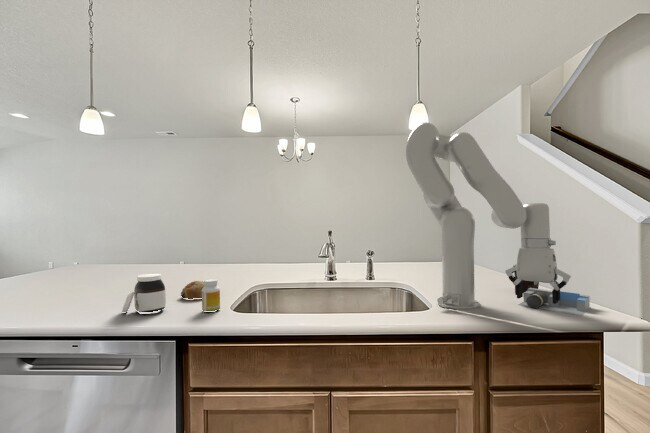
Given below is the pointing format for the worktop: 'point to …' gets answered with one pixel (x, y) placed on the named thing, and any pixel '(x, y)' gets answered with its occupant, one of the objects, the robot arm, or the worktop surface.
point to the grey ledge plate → (562, 302)
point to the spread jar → (147, 294)
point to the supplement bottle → (210, 296)
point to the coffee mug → (526, 283)
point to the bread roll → (193, 290)
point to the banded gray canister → (536, 299)
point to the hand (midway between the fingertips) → (537, 300)
